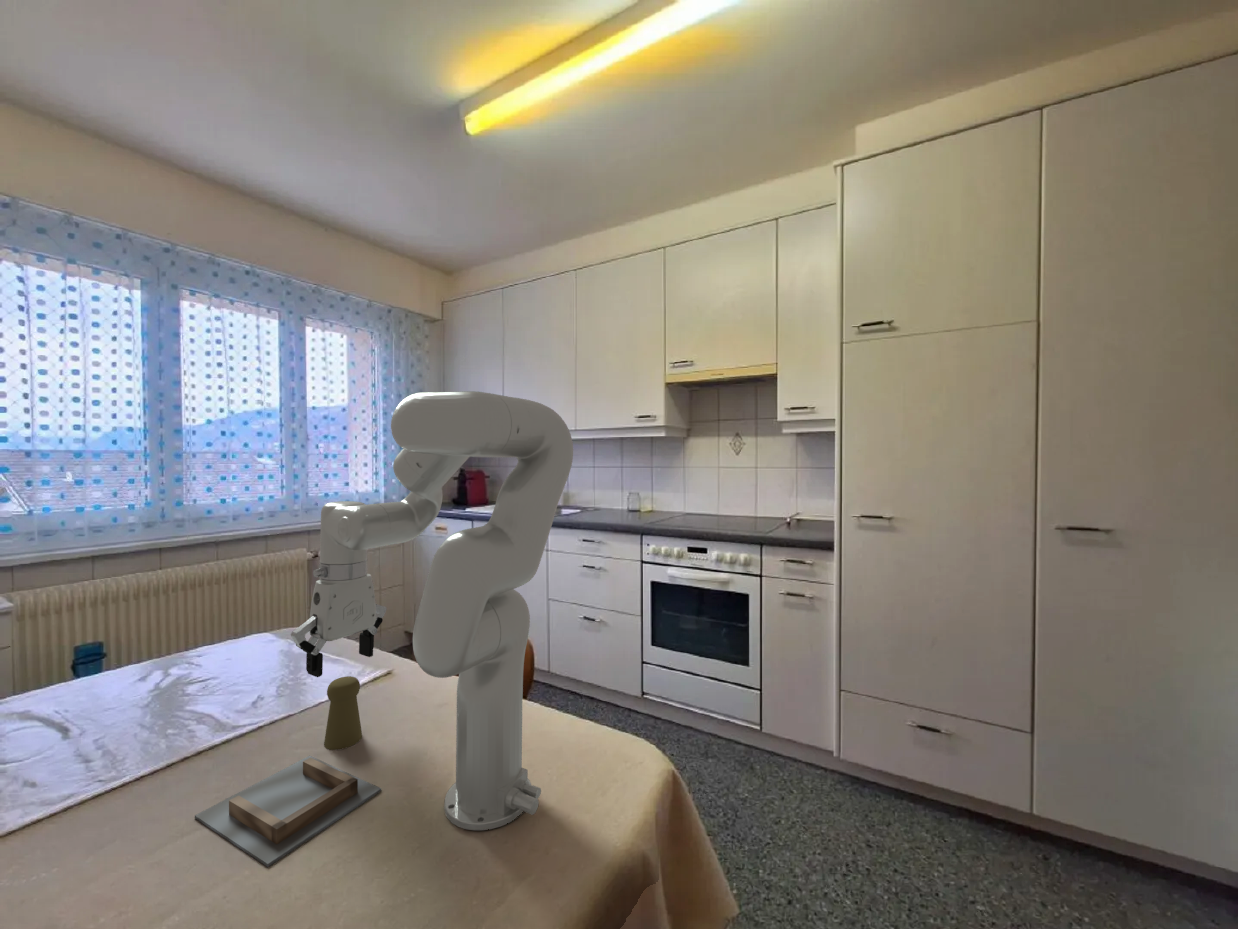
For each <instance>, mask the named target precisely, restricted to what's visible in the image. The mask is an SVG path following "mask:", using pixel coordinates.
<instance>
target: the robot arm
mask: <svg viewBox="0 0 1238 929" xmlns="http://www.w3.org/2000/svg"><path fill="white" fill-rule="evenodd" d="M401 400H402V401H400V402H399V403H398V405H397V406H396V408H395V409H394V411H393V413H392V416H391V420H390V429H391V430H390V431H391V434H392V437H393V439H394V441H395V442H396V444H397V445H398V446H399V447H400V448H401V449H402V450H400V452H399V453H398V454H397V455H396V457H395V459H394V460H393V465H392V467H393V472H394V475H395V477H396V479H397V480H398V481H399V483H400V484H401V485H402V486H403V487H404V488H405V489H407V490H408V491H409V493H408V494H407V495H406V496H405V497H404V498H403V499H402V500H400V501H393V502H390V501H389V502H381V503H372V504H365V503H364V502H362V501H361V502H360V501H353V500H350V501H349V500H347V501H346V500H345V501H332V502H328V503H326V504H324V505H323V506H322V507H321V510H320V540H319V542H320V543H319V544H320V546H319V548H320V549H319V563H318V568H317V569H313V571H312V575H313V577H314V578H319V579H318V580H316V581H315V583H314V584H315V585H314V588H313V593H312V598H311V603H310V610H309V618H308V619H307V620H306V621H305V622H303V623H302V624H300V625H299V626H298V627H296V628H295V629H294V630H293V631H292V632H291V633H290V637H291V639H292V641H293V642H294V643H295V646H296V647H297V648H298V649H299V650H302V651H303V652H305V653H306V657H305V658H306V662H305V664H306V665H305V668H306V672H307V674H308V675H310V676H313V677H315V678H320V677H322V676H323V667H324V665H323V663H324V662H323V660H324V658H323V657H324V655H323V653H321V650H322V649H323V647H324V646H325V645H326V643H327V642H333V641H337V640H340V639H342V638H346V637H349V636H353V635H356V634H359V635H358V636H359V638H358V639H359V640H358V641H359V642H358V654H359V655H361V656H365V657H367V658H372V657H373V656H374V647H375V646H374V645H375V635H376V634H377V633H378V628H379V627H380V626H381V624H382V623H383V618H384V616H385V614H386V611H387V608H388V607H387V606H384V605H381V604H378V603H377V602H376V595H375V586H374V582H373V577H372V574H371V573H368V556H369V555H368V550H369V549H374V548H380V547H385V546H391V545H397V544H402V543H407V542H410V541H412V540H414V539H416V538H417V537H419V535H421V534H423V533H424V532H425V531H426V530H427V528H428V527H429V526H430V525H431V524H432V523H433V522H434V520H436V518H437V517H438V516H439V513H440V511H441V507H442V505H443V504H442V502H443V497H444V496H443V487H444V485H446V484H447V482H448V481H449V480H451V478H452V477H453V475H455V473H456V472H457V471H459V469H460V468H461V467H462V466H463V465H464V463H465V462H467V461H468V460H469V459H470V458H506V459H507V458H516V459H517V463H516V465H515V467H514V468H513V469H512V471H510V473H509V475H507V477H506V479H505V480H504V481H503V483H502V485H501V486H500V490H499V491H498V494H497V496H496V499H495V500H496V501H495V504H494V505H495V506H494V508H493V510H492V514H491V516H490V518H489V520H488V521H487V523H486V524H484V525H483V526H475V527H471V528H467V529H463V530H459V531H457V532H455V533H453V534H451V535H450V536H448V537H447V538H446V539H445V540H444V541H443V542H442V543H441V544H440V546H439V547H438V548H437V550H436V552H435V554H434V555H433V558H432V561H431V564H430V567H429V570H428V574H427V578H426V581H425V585H424V588H423V591H422V596H421V599H420V603H419V605H418V606H419V607H418V610H417V614H416V618H415V621H414V626H413V631H412V632H413V633H412V650H413V655H414V658H415V660H416V663H417V665H418V667H419V668H421V670H422V671H423V672H425V673H426V674H427V675H428V676H431V677H433V678H442V679H443V678H444V679H447V678H451V677H454V676H457V675H458V678H457V683H456V684H457V685H456V726H455V727H456V729H455V730H456V735H455V736H456V739H455V742H456V743H455V749H456V750H455V752H456V753H455V782H454V783H453V784H452V785H451V786H450V788H449V789H448V790H447V792H446V794H445V797H444V804H443V807H444V808H443V809H444V814H445V816H446V818H447V819H448V821H450V823H451V824H453V825H454V826H456V827H459V828H461V829H463V830H468V831H487V830H488V829H489V830H493V829H497V828H501V827H503V826H505V825H507V823H508V824H509V823H511V822H513V821H515V820H516V819H517V818H518V817H517V816H519V815H520V814H521V813H522V812H523V811H524V812H523V813H526V814H529V815H532V816H533V815H534V814H536V812H537V810H538V807H539V798H540V797H541V793H542V788H541V787H539V786H536V785H532V783H531V780H530V779H529V776H528V775H529V774H528V769H527V768H524V767H523V695H524V694H523V692H524V689H523V688H524V686H523V685H524V666H525V664H524V663H525V654H526V649H527V644H528V638H529V633H530V627H531V626H530V625H531V618H530V617H531V615H530V610H529V606H528V604H527V601H526V599H525V598H524V597H523V595H522V594H520V592H518V591H517V590H516V589H517V588H520V587H522V586H524V585H526V584H527V583H529V582H530V581H531V580H532V579H533V578H534V577H535V575H536V574H537V572H538V569H539V567H540V563H541V560H542V558H543V554H544V551H545V547H546V545H547V542H548V537H549V535H550V531H551V529H552V525H553V524H554V519H555V515H556V511H557V508H558V504H559V502H560V499H561V496H562V494H563V491H564V489H565V486H566V484H567V481H568V477H569V475H570V472H571V468H572V466H573V459H574V442H573V439H572V434H571V431H570V429H569V428H568V425H567V424H566V422H565V420H564V419H563V418H562V417H561V415H559V414H558V413H557V412H556V411H555V410H554V409H552V408H551V407H549V406H547V405H545V404H542V403H541V402H538V401H534V400H529V399H526V398H520V397H513V396H509V395H508V396H507V395H501V394H496V393H490V392H484V391H483V392H482V391H470V390H468V391H441V392H440V391H439V392H438V391H433V392H428V391H426V392H422V391H421V392H416V393H412V394H410V395H408V396H407V397H405V398H404V399H401ZM308 633H309V635H310V637H309V639H308V640H307V639H306V634H308ZM523 813H522V814H523ZM522 814H521V815H522ZM521 815H520V816H521ZM520 816H519V817H520ZM516 817H517V818H516ZM515 818H516V819H515ZM514 819H515V820H514ZM512 820H513V821H512ZM489 830H488V831H489Z"/></svg>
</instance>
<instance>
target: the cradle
mask: <svg viewBox="0 0 1238 929" xmlns="http://www.w3.org/2000/svg"><path fill="white" fill-rule="evenodd" d="M380 791H381V792H382V788H381V787H380V786H377V785H375V784H372V783H370V782H368V781H367V780H364V779H362V778H359V777H357V776H356V775H353V774H351V773H349V772H347V771H344V770H342V769H340V768H338V767H336V766H333V765H332V764H330V763H328V762H324V761H322V760H320V759H318V758H316V757H315V756H312V755H308V756H306V757H304V758H302V759H300V760H298V761H296V762H293V764H291V765H289V766H287V767H285V768H283V769H280V770H279V771H278V772H275V773H273V774H272V775H269V776H267V777H266V778H263V779H262V780H260V781H258V782H256V783H254V784H252V785H250V786H248V787H246V788H244V789H242V790H240V791H239V792H237V793H235V794H233V795H231V796H229V797H227V798H225V799H223V800H222V801H220V802H218V803H216V804H214V805H212V806H211V807H208V808H206V809H205V810H202V811H201V812H199V813H197V814H195V815H194V819H195V820H197V821H198V822H199V823H201V824H202V825H204V826H205V827H207V828H209V829H210V830H212V831H213V832H215V833H216V834H217V835H219V836H220V837H222V838H223V839H225V840H227V841H228V842H230V843H231V844H232V845H234V846H235V847H237V848H239V849H240V850H242V851H243V852H244V853H246V854H247V855H249V856H250V857H251V858H253V859H254V860H257V862H259V863H261V864H262V865H264V866H265V867H267V868H268V867H270V866H272V865H273V864H275V863H276V862H278V861H279V860H281V859H282V858H284V857H285V856H286V855H288V854H289V853H291V852H294V850H296V849H297V848H298V847H300V846H302V845H303V844H305V843H306V842H307V841H309V840H310V839H312V838H313V837H315V836H316V835H318V834H320V833H321V832H322V831H324V830H326V829H327V828H328V827H330V826H331V825H333V824H335V823H336V822H338V821H339V820H340V819H342V818H344V817H345V816H346V815H347V814H349V813H351V812H353V810H354V811H355V809H357V808H358V807H359V806H360V807H361V805H363V804H364V803H367V801H369V800H370V799H372V798H373V797H374V796H376V795H378V794H379V793H381V792H380ZM377 793H378V794H377ZM375 794H376V795H375ZM371 797H372V798H371Z"/></svg>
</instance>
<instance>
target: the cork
mask: <svg viewBox="0 0 1238 929" xmlns="http://www.w3.org/2000/svg"><path fill="white" fill-rule="evenodd" d="M360 689H361V683H360V681H359V680H358V677H354V676H342V677H339V678H335V679H334V680H332V681H331V682H330V683H329V685H328V686H327V689H326V695H327V698H328V700H329V701H330V702H329V708H328V716H327V722H326V730H325V735H324V741H323V747H324V748H325V749H327V750H329V751H330V750H331V751H339V750H345V749H347V748H351V747H352V746H354V745H356V744H358V743H359V742H360V741H361V740H362V738H363V732H362V724H361V719H360V711H359V704H358V703H359V702H358V697H357V696H358V695H359V692H360Z"/></svg>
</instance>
